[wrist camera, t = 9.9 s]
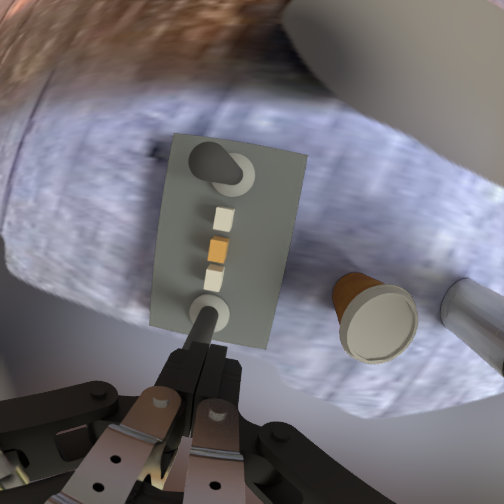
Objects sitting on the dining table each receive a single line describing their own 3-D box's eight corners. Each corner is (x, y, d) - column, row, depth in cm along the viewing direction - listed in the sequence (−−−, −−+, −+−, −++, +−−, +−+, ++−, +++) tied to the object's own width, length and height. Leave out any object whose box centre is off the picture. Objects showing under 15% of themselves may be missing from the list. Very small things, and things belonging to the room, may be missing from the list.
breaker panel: (302, 158, 37) (311, 152, 30) (265, 335, 42) (266, 359, 35) (182, 138, 37) (167, 129, 30) (158, 313, 42) (142, 333, 35)
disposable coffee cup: (308, 305, 41) (324, 348, 29) (345, 248, 39) (378, 271, 27) (358, 333, 42) (386, 378, 30) (394, 281, 40) (435, 312, 28)
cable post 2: (232, 297, 37) (213, 378, 20) (226, 332, 38) (206, 423, 21) (193, 289, 36) (147, 362, 20) (189, 324, 38) (147, 409, 21)
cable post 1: (258, 158, 33) (257, 127, 16) (250, 200, 34) (241, 209, 17) (216, 150, 33) (176, 116, 16) (208, 192, 34) (161, 195, 17)
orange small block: (229, 238, 35) (227, 242, 32) (226, 258, 35) (223, 263, 33) (214, 235, 35) (210, 239, 32) (211, 255, 35) (207, 260, 33)
